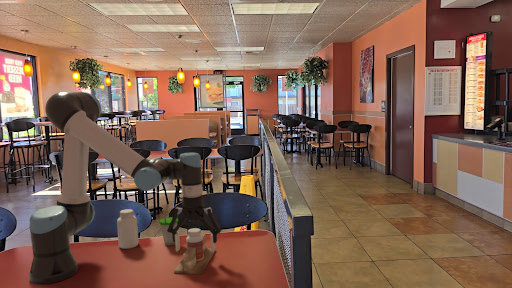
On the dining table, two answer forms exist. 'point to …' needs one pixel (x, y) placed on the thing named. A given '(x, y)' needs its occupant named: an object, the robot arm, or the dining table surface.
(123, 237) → the pill bottle
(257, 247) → the dining table surface
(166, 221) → the cup
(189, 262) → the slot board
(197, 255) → the pill bottle
